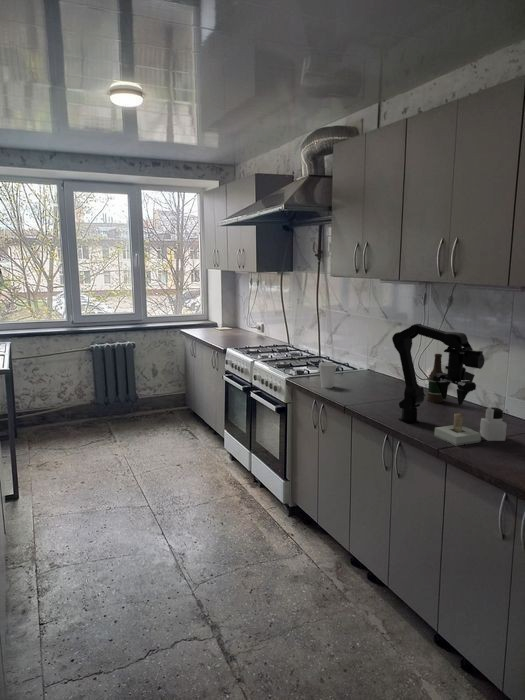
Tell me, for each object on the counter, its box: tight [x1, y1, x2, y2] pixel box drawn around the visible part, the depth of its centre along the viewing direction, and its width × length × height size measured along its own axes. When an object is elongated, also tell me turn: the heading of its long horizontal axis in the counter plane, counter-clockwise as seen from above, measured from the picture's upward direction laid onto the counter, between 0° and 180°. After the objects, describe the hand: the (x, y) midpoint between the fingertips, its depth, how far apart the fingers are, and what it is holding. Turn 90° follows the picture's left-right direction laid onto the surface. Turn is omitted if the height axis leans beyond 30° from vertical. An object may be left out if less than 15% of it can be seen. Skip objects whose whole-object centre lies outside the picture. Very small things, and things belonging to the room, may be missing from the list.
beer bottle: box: [427, 353, 444, 404], centre depth 253 cm, size 8×8×24 cm
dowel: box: [453, 413, 464, 433], centre depth 200 cm, size 3×3×9 cm
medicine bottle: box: [479, 407, 508, 442], centre depth 201 cm, size 7×7×12 cm
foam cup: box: [318, 361, 337, 389], centre depth 283 cm, size 10×9×13 cm
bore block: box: [434, 424, 482, 447], centre depth 200 cm, size 12×12×4 cm
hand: (452, 402), depth 207 cm, fingers open, 9 cm apart
